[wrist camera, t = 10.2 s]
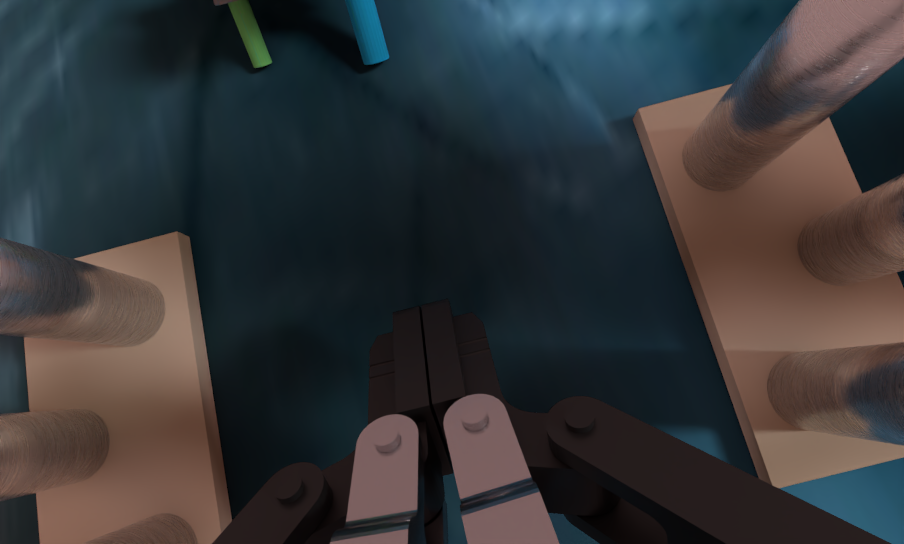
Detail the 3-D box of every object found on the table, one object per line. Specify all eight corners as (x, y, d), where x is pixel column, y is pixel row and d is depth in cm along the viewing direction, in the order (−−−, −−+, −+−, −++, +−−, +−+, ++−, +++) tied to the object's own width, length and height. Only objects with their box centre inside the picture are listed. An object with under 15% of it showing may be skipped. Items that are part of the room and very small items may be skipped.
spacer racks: (948, 438, 17) (970, 440, 16) (69, 656, 18) (49, 668, 17) (793, 76, 20) (805, 64, 19) (36, 277, 20) (18, 273, 20)
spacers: (942, 399, 16) (1455, 421, 8) (55, 621, 17) (-408, 875, 8) (811, 99, 19) (1095, -153, 10) (29, 305, 19) (-360, 243, 10)
